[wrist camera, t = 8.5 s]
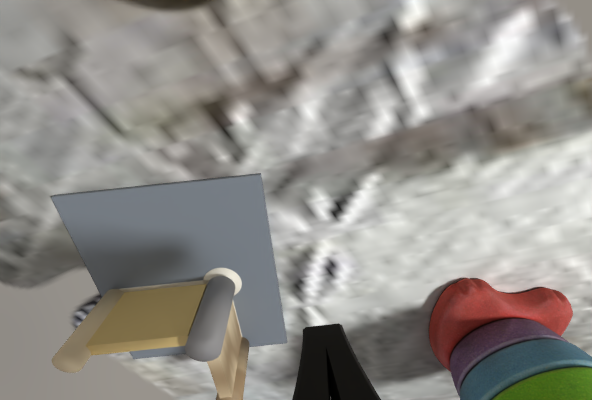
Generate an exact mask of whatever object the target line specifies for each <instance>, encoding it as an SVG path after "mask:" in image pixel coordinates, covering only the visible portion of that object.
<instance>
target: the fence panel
mask: <svg viewBox="0 0 592 400" xmlns="http://www.w3.org/2000/svg"><path fill="white" fill-rule="evenodd" d="M234 293H235V283H234V282H233V281H232V280H231V279H230V278H228V277H225V276H216V277H213V278H212V279H210V280H209V282H208V284H201V285H192V286H182V287H172V288H162V289H153V290H143V291H133V292H123V291H121V290H119V289H111V290H108V291H107V292H106V293H105V294H104V296H103V297H102V298H101V299H100V301H99V302H98V303H97V304H96V305H95V307H94V308H93V309H92V310H91V312H90V313H89V314H88V315H87V316H86V318H85V319H84V320H83V321H82V323H81V324H80V325H79V326H78V327H77V329H76V330H75V331H74V332H73V334H72V335H71V336H70V337H69V339H68V340H67V341H66V342H65V343H64V345H63V346H62V347H61V348H60V349H59V351H58V352H57V353H56V354H55V356H54V357H53V358H52V363H53V365H54V366H55V367H56V368H57V369H59V370H61V371H63V372H67V373H75V372H79V371H80V370H81V369H82V368H83V367H84V365H85V364H86V362H87V361H88V359H89V358H90V356H91V355H99V354H109V353H119V352H129V351H138V350H148V349H158V348H168V347H178V346H185V352H186V354H187V355H188V356H189V357H190V358H192V359H194V360H197V361H202V362H207V361H212V360H214V359H216V358H218V357H219V356H220V354H221V350H222V346H223V342H224V337H225V333H226V328H227V324H228V319H229V315H230V310H231V306H232V302H233V297H234Z"/></svg>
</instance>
